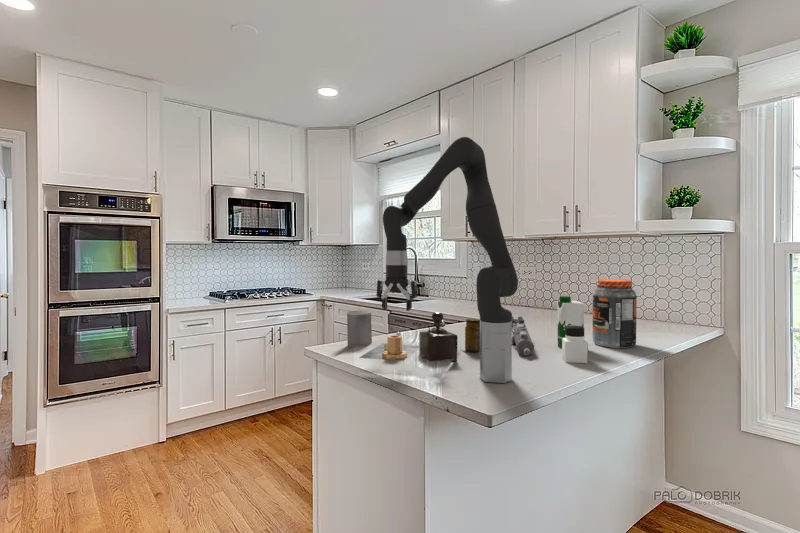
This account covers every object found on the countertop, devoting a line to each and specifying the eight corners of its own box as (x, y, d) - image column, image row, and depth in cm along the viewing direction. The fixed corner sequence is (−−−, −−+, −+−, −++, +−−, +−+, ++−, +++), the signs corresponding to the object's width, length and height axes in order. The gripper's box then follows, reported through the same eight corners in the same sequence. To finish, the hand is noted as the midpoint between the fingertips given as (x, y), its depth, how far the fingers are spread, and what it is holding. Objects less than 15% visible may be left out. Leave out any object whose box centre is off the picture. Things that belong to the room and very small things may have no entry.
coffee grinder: (416, 357, 154) (416, 307, 154) (445, 355, 158) (445, 305, 157) (434, 368, 140) (434, 313, 139) (465, 365, 143) (465, 311, 143)
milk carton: (554, 346, 172) (555, 295, 171) (577, 346, 171) (578, 295, 171) (562, 351, 163) (563, 298, 162) (587, 351, 163) (587, 297, 162)
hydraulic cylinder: (523, 332, 188) (523, 310, 186) (536, 368, 152) (537, 341, 150) (505, 332, 189) (506, 310, 187) (515, 368, 154) (516, 341, 152)
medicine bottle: (588, 363, 145) (588, 327, 144) (565, 362, 146) (565, 327, 146) (583, 358, 152) (583, 324, 151) (561, 357, 153) (562, 323, 153)
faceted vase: (402, 360, 146) (402, 339, 146) (379, 358, 148) (379, 338, 148) (409, 354, 154) (409, 335, 153) (387, 353, 156) (387, 334, 156)
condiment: (478, 348, 168) (478, 317, 168) (487, 353, 160) (487, 321, 159) (460, 349, 167) (460, 318, 166) (468, 354, 158) (468, 322, 158)
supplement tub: (586, 340, 182) (587, 278, 181) (626, 340, 180) (626, 278, 180) (600, 348, 166) (600, 281, 165) (643, 349, 165) (644, 281, 164)
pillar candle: (353, 343, 180) (352, 307, 179) (375, 344, 177) (374, 307, 177) (343, 348, 171) (342, 310, 170) (367, 349, 168) (366, 311, 167)
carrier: (403, 364, 145) (403, 343, 145) (359, 361, 150) (358, 340, 150) (421, 348, 168) (421, 330, 168) (382, 346, 173) (382, 328, 173)
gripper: (373, 263, 150) (373, 310, 151) (413, 264, 146) (413, 312, 146) (381, 263, 157) (381, 307, 158) (419, 263, 153) (419, 309, 153)
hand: (396, 310), depth 152 cm, fingers open, 8 cm apart
